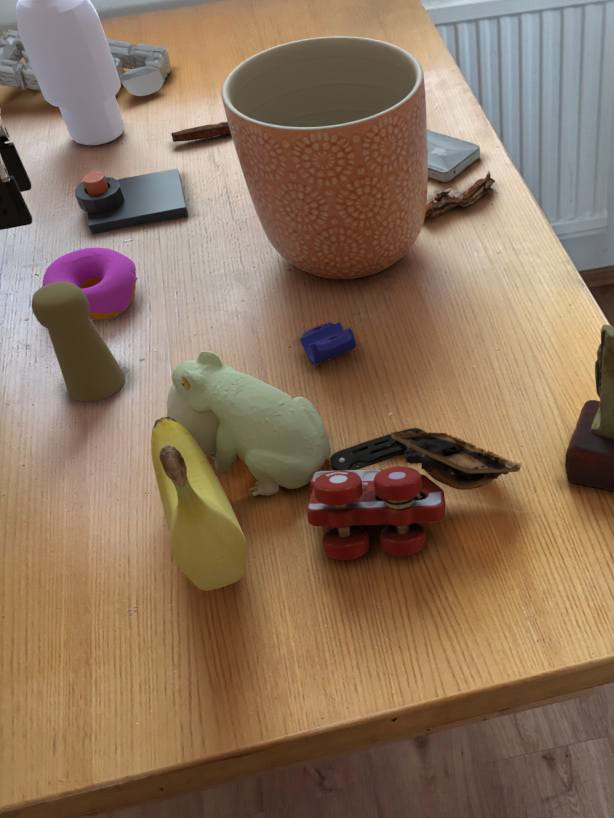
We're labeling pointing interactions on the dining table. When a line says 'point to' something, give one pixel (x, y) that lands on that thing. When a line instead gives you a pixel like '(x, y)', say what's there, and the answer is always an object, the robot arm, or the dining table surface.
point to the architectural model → (148, 61)
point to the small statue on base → (596, 425)
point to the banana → (196, 509)
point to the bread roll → (453, 459)
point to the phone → (449, 155)
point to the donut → (97, 278)
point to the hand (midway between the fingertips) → (13, 206)
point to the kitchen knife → (201, 132)
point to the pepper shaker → (77, 342)
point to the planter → (333, 150)
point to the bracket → (327, 342)
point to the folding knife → (368, 453)
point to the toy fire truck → (374, 509)
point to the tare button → (95, 183)
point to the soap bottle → (73, 66)
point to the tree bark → (458, 197)
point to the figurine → (248, 423)
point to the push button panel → (134, 201)
